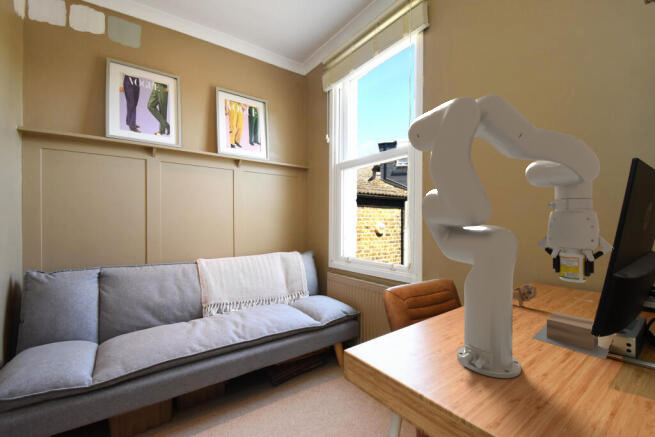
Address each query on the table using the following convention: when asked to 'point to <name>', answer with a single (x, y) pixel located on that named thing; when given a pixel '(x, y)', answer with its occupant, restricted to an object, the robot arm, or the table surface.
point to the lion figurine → (524, 293)
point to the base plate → (595, 352)
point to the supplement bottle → (572, 265)
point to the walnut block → (571, 330)
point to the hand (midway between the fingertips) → (572, 273)
